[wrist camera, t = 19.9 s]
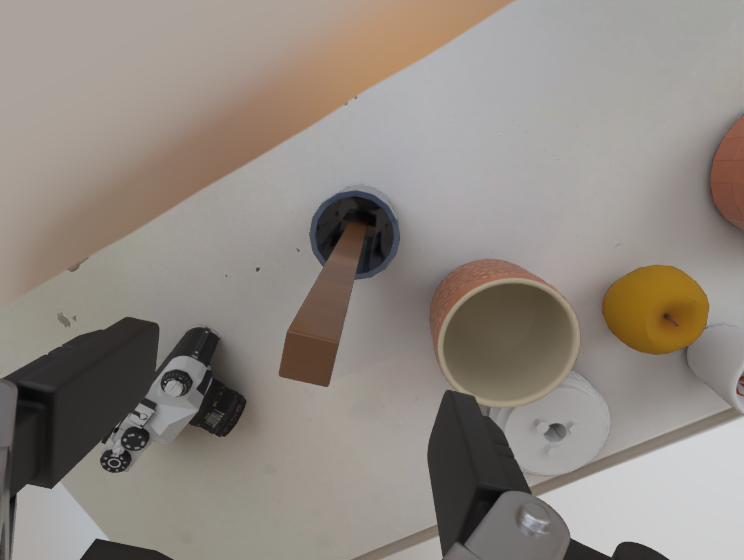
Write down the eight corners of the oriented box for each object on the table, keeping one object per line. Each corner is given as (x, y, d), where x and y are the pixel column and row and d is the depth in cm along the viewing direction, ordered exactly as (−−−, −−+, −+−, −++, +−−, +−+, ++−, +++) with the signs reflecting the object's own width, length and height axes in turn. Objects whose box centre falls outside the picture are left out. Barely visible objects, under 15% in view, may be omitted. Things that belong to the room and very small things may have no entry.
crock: (333, 177, 43) (319, 181, 33) (403, 194, 43) (409, 203, 34) (319, 246, 45) (302, 268, 35) (386, 261, 45) (387, 288, 36)
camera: (201, 440, 53) (178, 510, 44) (121, 401, 50) (77, 468, 41) (269, 362, 50) (258, 419, 41) (188, 314, 46) (157, 365, 37)
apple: (623, 240, 44) (682, 258, 35) (682, 284, 45) (751, 312, 37) (569, 303, 46) (611, 334, 37) (626, 343, 47) (680, 383, 39)
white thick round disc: (617, 398, 49) (643, 423, 44) (547, 472, 52) (564, 503, 47) (533, 342, 47) (550, 362, 42) (466, 422, 50) (474, 449, 45)
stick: (347, 210, 43) (260, 324, 12) (377, 217, 43) (364, 348, 12) (343, 225, 44) (252, 371, 13) (373, 232, 44) (353, 394, 13)
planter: (544, 253, 44) (595, 280, 34) (527, 358, 48) (568, 413, 37) (428, 247, 45) (443, 272, 34) (419, 352, 48) (430, 405, 37)
